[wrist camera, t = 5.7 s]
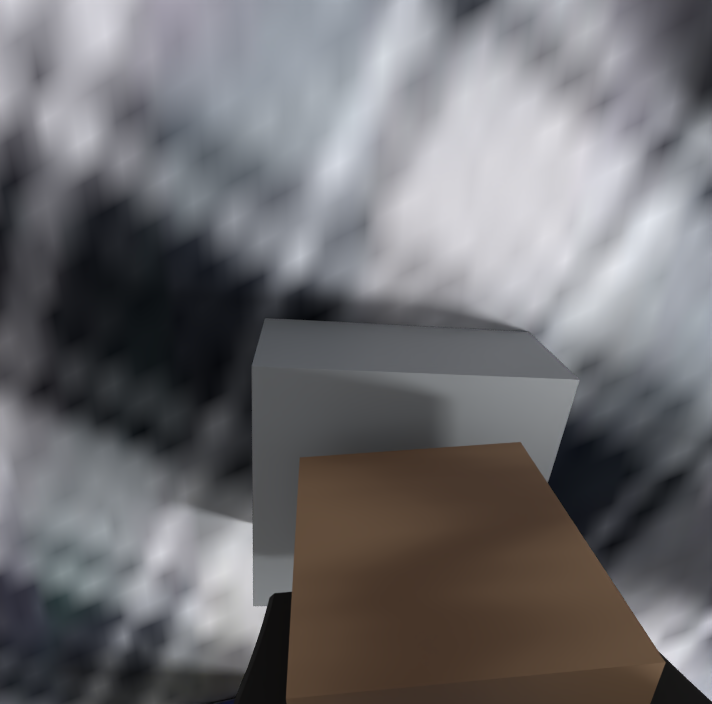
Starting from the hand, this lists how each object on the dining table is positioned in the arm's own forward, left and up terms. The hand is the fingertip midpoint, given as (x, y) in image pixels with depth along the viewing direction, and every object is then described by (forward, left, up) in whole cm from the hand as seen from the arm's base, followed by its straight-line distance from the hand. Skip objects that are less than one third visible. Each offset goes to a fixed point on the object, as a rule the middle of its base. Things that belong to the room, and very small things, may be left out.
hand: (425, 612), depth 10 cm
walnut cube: (0, 0, -2) cm, 2 cm away
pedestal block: (0, 0, -7) cm, 7 cm away
